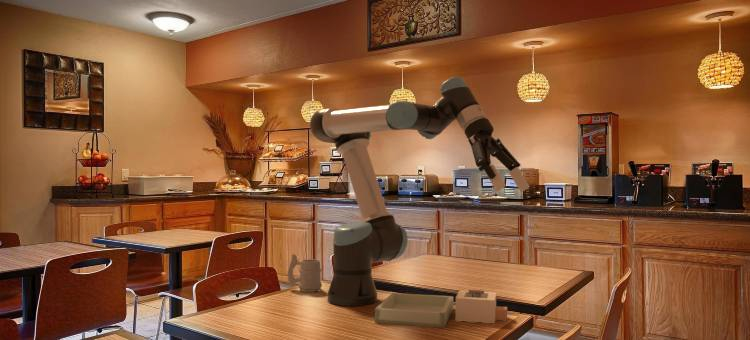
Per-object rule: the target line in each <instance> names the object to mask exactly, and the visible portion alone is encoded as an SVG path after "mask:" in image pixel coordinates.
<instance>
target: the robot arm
mask: <svg viewBox="0 0 750 340" xmlns="http://www.w3.org/2000/svg"><path fill="white" fill-rule="evenodd" d="M471 90H472V89H471V88H470V86H469V85H468V84H467V83H466V81H465V80H464V79H463V78H462V77H459V76H453V77H449V78H448V79H446V80H445V81H443V82H442V84H441V86H440V87H439V92H440V94H441V97H440V98H439V99H438V100H437V101H436V102H435V103H434V104H433V105H428V104H421V103H416V102H410V101H408V100H396V101H393V102H392V103H390V104H383V105H373V106H365V107H357V108H350V109H349V108H346V109H338V108H336V107H331V108H330V107H326V108H320V109H318V110H316V111H315V112H314V113H313V114H312V116H311V118H310V122H309V129H310V132H311V134H312V135H313V137H315V138H316V139H317V140H319V142H324V143H329V144H334V146H335V148H336V152H337V153H338V154H339V155H341V156H342V157H343V160H344V163H345V167H346V171H347V173H348V176H349V179H350V182H351V187H352V190H353V193H354V196H355V200H356V202H357V205H358V209H359V213H360V216H361V218H362V220H361V221H355V222H347V223H342V224H339V225H338V226H337V227H336V228H334V232H333V239H332V243H333V274H332V275H333V276H332V279H331V282H330V286H329V288H328V291H327V302H328V303H330V304H332V305H337V306H345V307H346V306H347V307H349V306H350V307H351V306H352V307H354V306H355V307H356V306H358V307H359V306H367V305H371V304H375V303H376V302H377V301H378V291H377V288H376V285H375V281H374V279H373V273H372V269H373V268H372V266H373V265H372V264H374V263H380V262H381V263H382V262H390V261H392V260H396V259H399V258H400V257H402V256H403V254H404V253H405V251H406V248H407V246H408V240H409V239H408V234H407V230H406V229H405V227H404V226H402V225H401V224H400V223H396V219H395V216H394V215H393V214H392V213H390V212H388V209H387V206H386V204H385V200H384V198H383V195H382V192H381V189H380V186H379V182H378V179H377V176H376V172H375V170H374V165H373V163H372V160H371V158H370V153H369V151H368V146H369V145H370V139H371V137H372V134H371V133H373V132H375V133H376V132H386V131H402V130H405V131H406V130H410V131H411V130H413V131H417V132H418V134H419V135H420V136H421V137H422V138H425V140H426V139H427V140H432V139H434V138H436V137H437V136H439V135H440V134H441V133H443V131H444V130H445V129H447V128H448V126H450V125H451V124H452V123H453V122H454V121H455V120H456V121H457V123H458V125H459V126H460V128H461V130H462V131H463V132H464V135H465V136H466V137H465V138H467V140H468V143H469V145H470V147H471V152H472V155H473V157H474V163H475V165H476V167H477V168H478V170H479V171H480V172H483V171H484V173H485V174H486V176H487V178H488V179H489V181H490V183H491V185H492V186H493V189H494V190H495V192H500V191H501V190H502V189H504V188H505V187H507V185H506V184H505V181H504V180H503V178H502V177H501V175H500V173H499V170H497V168H496V167H495V165H494V164H493V163H492V160H491V157H493V158H496V159H497V160H498V161H499V163H500V164H502V165H503V167H504V168H506V169H507V170H508V171H509V172H508V173H509V175H510V176H511V178H512V180H513V182H514V184H515V185H516V187H517V188H518V190H519V192H520V193H523V192H525V190H527V189H529V188H530V186H531V185H529V183H528V181H527V180H526V178H525V177H524V175H523V173H522V172H521V170H520V168H519V167H520V166H521V163H520V162H519V161H518V160H517V158H515V156H513V154H512V153H511V152H510V151H509V150H508V148H506V146H505V145H504V143H503V142H502V141H501V139H500V138H498V137H497V138H496V139H495V138H494V137H493V136H492V134H493V133H494V127H493V124H492V122H490V120H489V119H488V118H487V115H486V113H485V112H484V111H483V110H484V107H483V106H481V105H480V104H479V102H478V100H477V99H476V97H475V95H474V94H473V92H472V91H471Z"/></svg>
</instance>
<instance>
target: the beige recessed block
mask: <svg viewBox="0 0 750 340" xmlns="http://www.w3.org/2000/svg"><path fill="white" fill-rule="evenodd" d="M497 320H507V321H508V306H498V305H497V292H496V291H484V294H481V298H475V297H472V294H469V290H462V289H461V290H459V291H458V293H457V294H456V296H455V321H456V322H461V321H468V322H467V323H475V322H482V323H481V324H489V323H495V324H496V321H497Z"/></svg>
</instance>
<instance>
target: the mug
mask: <svg viewBox="0 0 750 340" xmlns="http://www.w3.org/2000/svg"><path fill="white" fill-rule="evenodd" d="M296 266H300V268H299V276H298V277H295V276H294V269H295V267H296ZM287 269H288V270H287V281H288V283H289V285H290V287H293V286H295V284H297V283H299V284H298V288H299V292H301V291H303V292H302V293H308V292H309V293H310V292H312V293H316V292H315V291H318V292H320V291H319V290H322V287H323V283H322V282H321V280H322V279H321V278H322V277H321V272H322V268H321V261H320V259H312V258H311V259H302V260H299V261H298V257H297V255H296V254H295V253H292V254H291V260H290V263H289V265H288V268H287Z"/></svg>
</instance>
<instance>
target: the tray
mask: <svg viewBox="0 0 750 340" xmlns="http://www.w3.org/2000/svg"><path fill="white" fill-rule="evenodd" d="M454 301H455V299H454V295H452V296H451V295H434V294H416V293H401V292H392V293H390V295H388V296H387V297H386V298H385V299H384V300H383V301H382V302H381V303H380V304H378V305H377V306H376V307H375V308H374V323H376V324H387V325H389V324H390V325H401V326H403V325H404V326H415V327H417V326H418V327H428V328H429V327H430V328H440V329H441V328H442V329H444V328H445V327H446V326H447V324H448V321H449V319H450V317H451V315H452V314H453V311H454V309H453V308H454V306H455V305H454V303H455V302H454ZM452 310H453V311H452Z"/></svg>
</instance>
